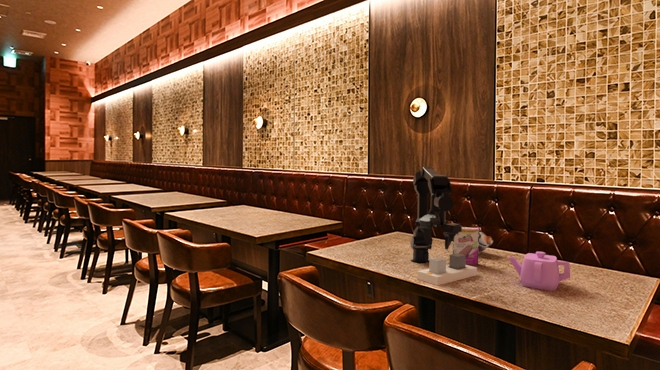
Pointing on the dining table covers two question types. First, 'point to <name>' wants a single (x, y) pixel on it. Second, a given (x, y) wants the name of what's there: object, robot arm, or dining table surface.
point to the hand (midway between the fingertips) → (436, 246)
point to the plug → (437, 265)
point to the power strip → (446, 275)
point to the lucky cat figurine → (484, 241)
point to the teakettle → (541, 271)
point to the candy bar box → (467, 244)
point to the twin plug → (457, 261)
